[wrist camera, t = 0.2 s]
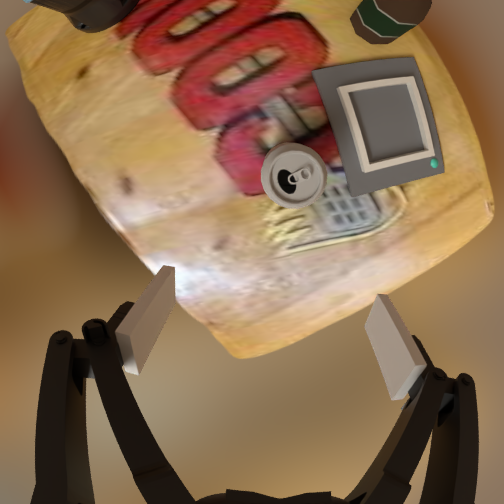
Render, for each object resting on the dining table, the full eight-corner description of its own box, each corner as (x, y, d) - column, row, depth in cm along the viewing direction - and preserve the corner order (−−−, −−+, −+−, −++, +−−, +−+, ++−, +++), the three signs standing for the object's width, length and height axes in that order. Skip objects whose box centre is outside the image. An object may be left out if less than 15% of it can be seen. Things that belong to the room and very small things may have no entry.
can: (254, 155, 38) (247, 162, 27) (300, 134, 37) (312, 132, 26) (276, 199, 41) (279, 223, 30) (321, 179, 39) (340, 196, 28)
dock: (311, 72, 32) (313, 68, 30) (411, 58, 29) (417, 55, 27) (350, 196, 40) (355, 199, 37) (441, 171, 36) (449, 173, 34)
